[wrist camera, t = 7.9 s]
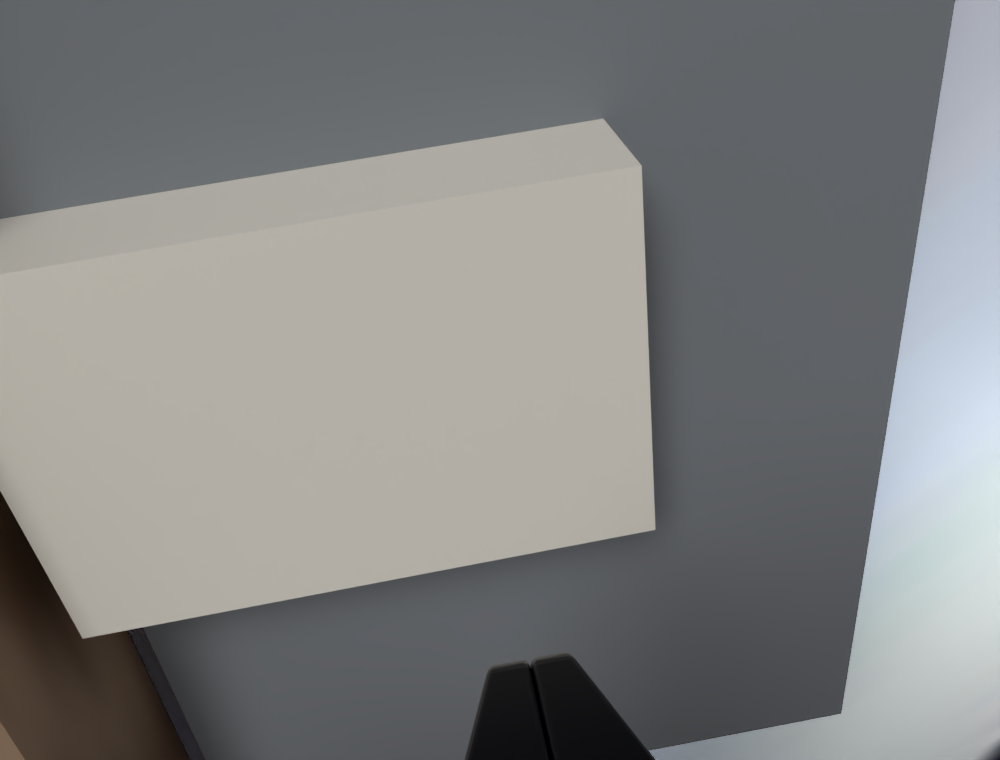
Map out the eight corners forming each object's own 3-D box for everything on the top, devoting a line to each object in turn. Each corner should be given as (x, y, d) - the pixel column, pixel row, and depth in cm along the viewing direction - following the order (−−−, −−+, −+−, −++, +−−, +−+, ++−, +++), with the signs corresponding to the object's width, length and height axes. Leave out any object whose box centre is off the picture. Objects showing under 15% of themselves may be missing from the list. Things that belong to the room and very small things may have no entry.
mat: (833, 699, 21) (841, 713, 21) (239, 812, 20) (238, 829, 20) (1038, -665, 9) (1064, -682, 9) (-377, -523, 8) (-406, -537, 8)
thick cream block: (623, 453, 16) (655, 529, 14) (112, 548, 15) (82, 638, 14) (603, 118, 13) (641, 165, 11) (-47, 227, 12) (-111, 292, 10)
